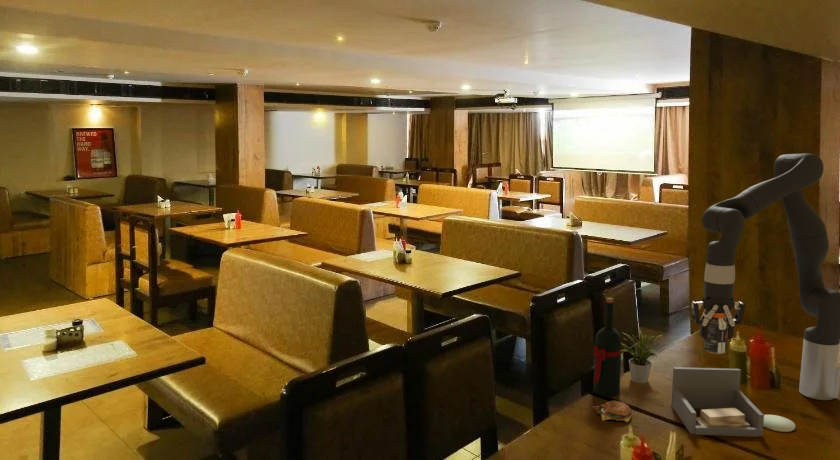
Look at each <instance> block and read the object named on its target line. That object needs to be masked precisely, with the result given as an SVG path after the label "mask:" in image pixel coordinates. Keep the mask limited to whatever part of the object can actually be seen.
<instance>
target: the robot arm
mask: <svg viewBox="0 0 840 460" xmlns="http://www.w3.org/2000/svg"><path fill="white" fill-rule="evenodd" d="M824 168H825V167H824V163H823V160H822V159H821V157H820V156H818V155H817V154H815V153H814V154H813V153H787V154H786V153H785V154H781V155H779V156H778V157H777V158H776V159H775V162H774V164H773V174H774V177H773V178H770V179H767V180H765V181H762V182H759V183H757V184H754V185H752V186H749V187H748V188H746V189H744V190H743V191H742V192H740V193H739V194H737V195H736V196H734V197H731V198H727V199H725V200H723V201H720V202H718V203H715V204H713V205H710V206H709V207H708V208H707V209H706V210H705V211H704V212H703V214H702V217H701V224H702V226H703V228H704V229H705V230H707V232H708V231H709V232H712V233H716V234H717V233H718V234H721V235H720V238H719V240H714V241H710V242H709V243H708V244H707V248H706V258H705V259H706V261H705V262H706V263H705V268H704V280H703V296H702V299H701V300H700V301H694V300H691V302H690V306H691V316H692V317H691V318H692V321H693V322H694V323H695V324H696V325H699V332H698V333H699V336H700V337H701V338H702V339H703V340H704V339H706V338H707V326H706V325H707V323H708V321H709V320H710V319H711V318H712V316H713V314H714V313H725V316H726V317H725V319H726V320H728V322H729V329H728V340H731V339H732V338H733V337H734V331H735V326H736V325H742V323H743V318H744V315H745V310H746V304H745V303H744V302H742V301H741V300H738V301H735V300H734V296H735V294H734V293H735V280H736V268H735V267H736V266H735V263H736V250H737V246H738V244H739V241H740V238H741V237H742V234H743V232H744V231H743V230H744V228H745V220H747V219H751V218H753V217H754V216H756V215H757V214H759V213H761V212H763V211H764V210H765V209H766V208H767V207H769V206H771V205H772V204H774V203H776V202H778V201H780V200H781V201H782V205H783V209H784V212H785V217H786V221H787V225H788V230H789V232H788V233H789V238H790V242H791V247H792V250H793V254H794V259H795V267H796V271H797V277H798V278H797V279H798V289H799V290H798V292H799V301H800V306H801V307H802V310H803V311H805V313H806V314H808V315H810V316H812V317H815V318H817V321H816V326H810V327H807V328H805V330H804V332H803V341H802V354H801V364H800V376H799V384H798V385H799V386H798V388H799V389H798V391H799V393H800V394H801V395H803V396H805V397H806V398H810V399H813V400H820V401H831V400H834V399H838V398H839V389H840V367H839V355H840V291H837V290H835V289H830V288H828V287H826V285H825V283H824V280H823V274H822V267H823V264H824V262H825V259H826V258H827V256H828V252H829V250H830V243H829V242H830V241H829V236H828V233H827V232H828V231H827V227H826V224H825V222H824V221H823V218H821V217H820V215H819V214H818V213H817V211H815V209H814V208H813V207H812V206H811V204H809V202H808V201H807V199H806V198H805V196H804V193H803V189H806V188H808V187H811V186H813V185H814V184H816V183H817V182H819V180H820V179H821V178H822V176H823V174H824ZM702 306H703V308H704V310H703V312H702V315H701V316H700V310H701V309H702ZM733 308H734V310H735V312H734V317H733V316H732V313H731V312H730V311H731V310H732V309H733Z"/></svg>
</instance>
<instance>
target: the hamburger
mask: <svg viewBox="0 0 840 460" xmlns="http://www.w3.org/2000/svg"><path fill="white" fill-rule="evenodd" d="M600 407H601V408H600ZM595 408H597V410H596V412H597V414H599V415H600V417H601V420H602V421H606V420H611V419H612V420H611V421H614V420H616V421H615V422H623V421H624V422H626V423H628V422H629V421H630V420H631V416H632V413H633V412H632V408H630V406H629V405H628V404H627V403H624V402H621V401H617V400H611V401H607V402H605V403H603V404H601V405H600V406H599V405H596V406H595V405H594V406H592V409H595Z"/></svg>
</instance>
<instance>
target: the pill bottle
mask: <svg viewBox="0 0 840 460" xmlns="http://www.w3.org/2000/svg"><path fill="white" fill-rule="evenodd" d="M725 317H726V316H725V313H714V314H713V316H712V318H711V319H710V320H709V321H708V323H707V325H706V326H707V338H706V339H703V340H704V341H703V349H704V350H705V351H707V352H708V353H711V354H720V355H721V354H725V353H727V352H728V342H729V341H728V340H729V339H728V329H729V322H728V320H726V319H725Z"/></svg>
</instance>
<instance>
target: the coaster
mask: <svg viewBox="0 0 840 460" xmlns="http://www.w3.org/2000/svg"><path fill="white" fill-rule="evenodd" d="M763 415H764V422H763V428H765V429H768V430H771V431H774V432H775V431H776V432H781V433H782V432H783V433H789V432H793V431H795V429H796V424H795V422H793V420H791V419H789V418H786V417H784V416H781V415H775V414H763Z"/></svg>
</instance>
